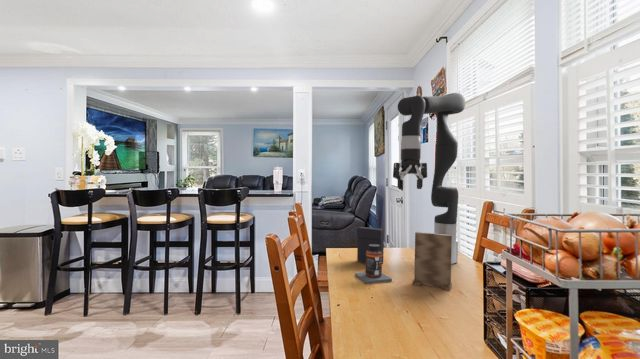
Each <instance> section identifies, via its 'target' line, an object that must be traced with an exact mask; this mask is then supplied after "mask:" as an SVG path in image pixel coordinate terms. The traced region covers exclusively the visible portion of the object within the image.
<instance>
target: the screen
mask: <svg viewBox="0 0 640 359" xmlns="http://www.w3.org/2000/svg"><path fill="white" fill-rule="evenodd" d="M451 255H452V235H445V234H434V232H433V233H431V232H420V231H416V232H415V233H414V269H413V270H414V271H413V272H414V273H413V274H414V276H413V280H412V285H413V286H421V285H423V286H424V285H425V286H431V287H437V288H442V290H444V291H445V290H446V291H451V290H452V286H453V282H452V264H451Z"/></svg>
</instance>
